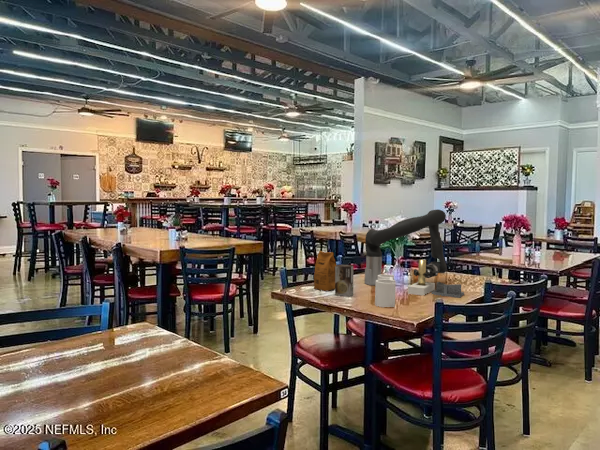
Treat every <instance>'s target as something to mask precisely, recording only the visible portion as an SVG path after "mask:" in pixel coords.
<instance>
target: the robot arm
mask: <svg viewBox="0 0 600 450" xmlns="http://www.w3.org/2000/svg"><path fill="white" fill-rule="evenodd" d="M446 218H447V215H446V213H445V211H444V210H441V209H432V210H430V211H428V212H427V214H423V215H420V216H414V217H411V218H407V219H404V220H401V221H398V222H396V223H394V224H392V225H391V226H390V227H387V228H384V229H379V230H378V229H377V230H376V229H370V230H368V231H367V232H366V234H365V238H364V239H365V241H364V242H365V253H366V256H365V257H366V258H365V259H366V261H365V263H366V264H365V266H366V267H365V268H364V284H365V285H368V286H375V283H376V280H378V275H382V265H383V262H382V259H383V258H382V255H383V252H382V251H381V245H382V244H384V243H386V242H389V241H392V240H394V239H397V238H401V237H404V236H405V237H406V236H408V235H410V234H411V235H412V234H414V233H416V232H418V231H420V230H423V229H425V228H428V232H429V236H430V238H429V239H430V247H431V248H430V250H431V257H432V258H434V259H437V260H438V261H431V262H430V263H429V264H426V273H425V277H426V279H430V278H433V277H438V274H445V273H446V272H447V269H448V266H447V263H446V261H445V257H444V247H443V246H444V244H443V241H442V238H441V234H440V228H439V227H440V225H441V224H443V223H444V222H445V220H446ZM418 271H419V270H418V269H417V268H415V269H413V276H414V277H417V276H418Z"/></svg>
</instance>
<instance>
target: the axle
mask: <svg viewBox="0 0 600 450" xmlns="http://www.w3.org/2000/svg"><path fill="white" fill-rule="evenodd" d="M426 265H427V260H426V259H418V270H417V271H418V278H417V282H418V285H422V286H425V282H427V281H426V280H427V278H426V277H425V273H426Z"/></svg>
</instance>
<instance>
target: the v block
mask: <svg viewBox="0 0 600 450" xmlns="http://www.w3.org/2000/svg"><path fill="white" fill-rule="evenodd" d="M432 294H434V295H435V296H440V295H441V297H448V298H456V299H460V298H462V297H463V296H465V292H464V291H462V284H460V283H459V284H458V283H456V284H445V283H443V282H440V281H436V284H435V290H433V291H431V295H432ZM434 295H433V296H434Z"/></svg>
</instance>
